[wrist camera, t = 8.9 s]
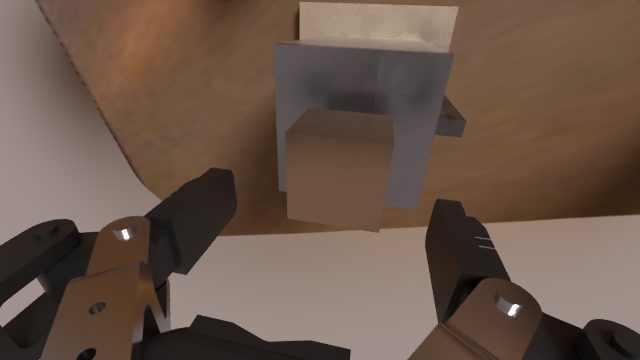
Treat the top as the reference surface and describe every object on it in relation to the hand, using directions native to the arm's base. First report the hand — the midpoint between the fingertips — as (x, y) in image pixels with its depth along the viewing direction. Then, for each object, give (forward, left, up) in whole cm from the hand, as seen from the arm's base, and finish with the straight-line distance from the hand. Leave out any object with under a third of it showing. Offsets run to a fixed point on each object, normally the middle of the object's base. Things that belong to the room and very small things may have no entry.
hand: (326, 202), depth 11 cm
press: (0, 0, -27) cm, 27 cm away
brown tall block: (0, 0, -23) cm, 23 cm away
